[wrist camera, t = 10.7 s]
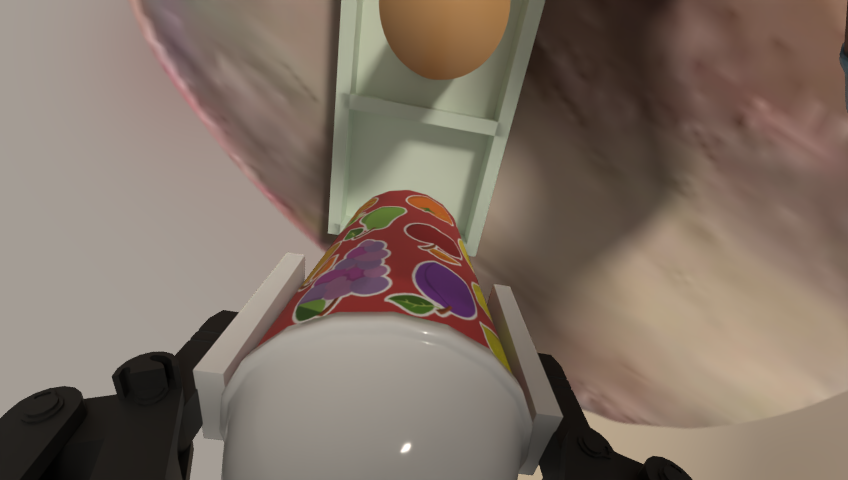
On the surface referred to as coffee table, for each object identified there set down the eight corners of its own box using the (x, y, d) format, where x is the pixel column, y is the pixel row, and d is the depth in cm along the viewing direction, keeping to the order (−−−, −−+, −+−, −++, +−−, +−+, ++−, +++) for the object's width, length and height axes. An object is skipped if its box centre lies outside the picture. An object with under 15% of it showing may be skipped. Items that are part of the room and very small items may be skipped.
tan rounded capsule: (405, -14, 28) (387, -94, 15) (481, 2, 28) (527, -62, 15) (394, 72, 30) (372, 67, 18) (464, 86, 31) (491, 90, 18)
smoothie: (371, 303, 24) (202, 1000, 6) (316, 197, 21) (-492, 1061, 2) (485, 268, 23) (726, 1022, 5) (446, 149, 19) (764, 1211, 1)
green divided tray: (356, -76, 27) (347, -98, 23) (543, -35, 28) (558, -49, 25) (336, 220, 37) (327, 233, 34) (471, 242, 39) (475, 256, 35)
